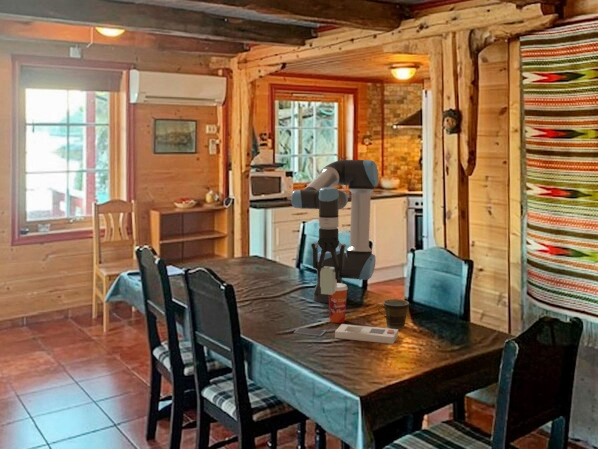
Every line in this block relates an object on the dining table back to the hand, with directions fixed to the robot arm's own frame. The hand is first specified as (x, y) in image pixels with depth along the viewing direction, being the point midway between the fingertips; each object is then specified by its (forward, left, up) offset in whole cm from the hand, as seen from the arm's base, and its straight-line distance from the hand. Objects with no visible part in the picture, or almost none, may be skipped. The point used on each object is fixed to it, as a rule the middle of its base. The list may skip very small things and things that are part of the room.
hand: (328, 286), depth 246 cm
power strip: (+6, +17, -17) cm, 24 cm away
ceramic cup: (-9, +24, -17) cm, 31 cm away
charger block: (0, 0, -2) cm, 2 cm away
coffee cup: (-11, +1, -17) cm, 20 cm away
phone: (+7, -5, -17) cm, 20 cm away
